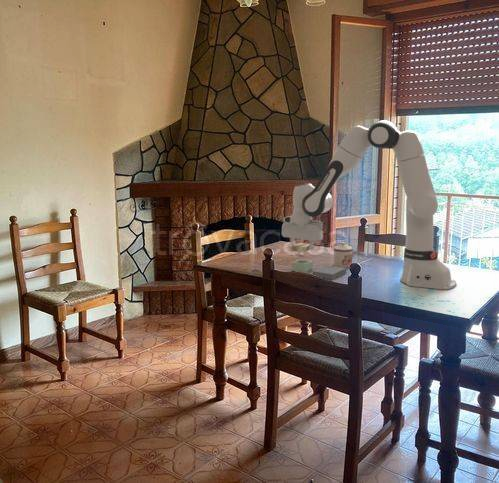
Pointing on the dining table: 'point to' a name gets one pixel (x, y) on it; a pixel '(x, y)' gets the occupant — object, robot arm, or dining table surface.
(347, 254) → the teacup with lid
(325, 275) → the trivet
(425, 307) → the dining table surface
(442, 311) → the dining table surface
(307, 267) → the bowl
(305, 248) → the lid board
